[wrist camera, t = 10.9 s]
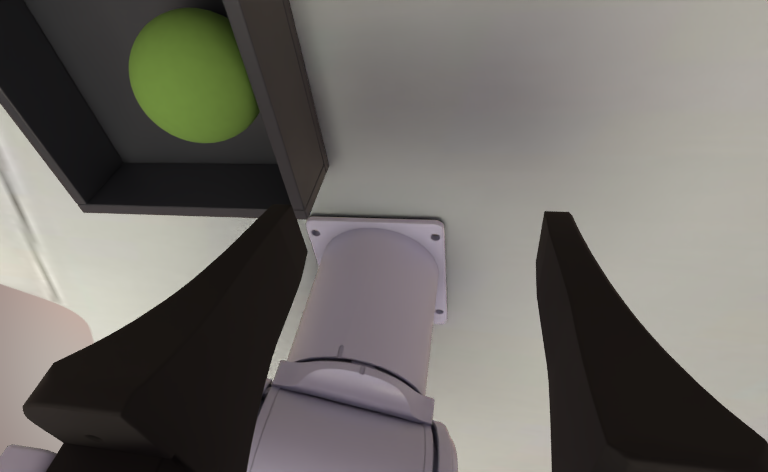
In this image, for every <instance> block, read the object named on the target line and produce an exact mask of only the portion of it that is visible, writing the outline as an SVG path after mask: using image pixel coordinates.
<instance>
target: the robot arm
mask: <svg viewBox="0 0 768 472" xmlns="http://www.w3.org/2000/svg"><path fill="white" fill-rule="evenodd" d="M306 228H307V231H308V234H309V237H310V240H311V244H312V247H313V250H314V253H315V256H316V259H317V262H318V265H319V268H318V271H317V274H316V277H315V280H314V283H313V286H312V289H311V291H310V294H309V297H308V300H307V303H306V306H305V309H304V312H303V315H302V318H301V321H300V323H299V326H298V329H297V332H296V335H295V338H294V341H293V344H292V347H291V350H290V353H289V355H288V358H287V361H285V360H281V361H280V363H279V366H278V369H277V372H276V375H275V377H274V380H273V382H272V379H268V378H267V375H268V371H269V367H270V364H271V360H272V356H273V353H274V350H275V347H276V344H277V342H278V339H279V337H280V334H281V331H282V329H283V326H284V324H285V321H286V318H287V316H288V313H289V311H290V308H291V306H292V303H293V300H294V298H295V295H296V292H297V290H298V287H299V284H300V282H301V278H302V274H303V270H304V266H305V261H306V256H307V252H308V251H307V248H306V245H305V242H304V239H303V236H302V234H301V231H300V228H299V225H298V222H297V219H296V216H295V213H294V210H293V207H292V205H283V204H272V205H271V206H270V207H269V208H268V209H267V210H266V211H265V212H264V213H263V214H262V215H261V216H260V217H259V218H258V219H257V220H256V221H255V222H254V223H253V224H252V225H251V226H250V227H249V228H248V229H247V230H246V231H245V232H244V233H243V234H242V235H241V236H240V237H239V238H238V239H237V240H236V241H235V242H234V243H233V244H232V245H231V246H230V247H229V248H228V249H227V250H226V251H225V252H224V253H222V254H221V255H220V256H219V257H218V258H217V259H216V260H215V261H213V262H212V263H211V264H210V265H209V266H208V267H207V268H206V269H204V270H203V271H202V272H201V273H200V274H199V275H198V276H196V277H195V278H194V279H193V280H191V281H190V282H189V283H188V284H186V285H185V286H184V287H182V288H181V289H180V290H178V291H177V292H176V293H174V294H173V295H172V296H170V297H169V298H168V299H166V300H165V301H163V302H162V303H160V304H159V305H157V306H156V307H154V308H153V309H151V310H150V311H148V312H147V313H145V314H144V315H142V316H141V317H139V318H138V319H136V320H134V321H133V322H131V323H129V324H128V325H126V326H124V327H123V328H121V329H119V330H118V331H116V332H114V333H112V334H110V335H109V336H107V337H105V338H103V339H101V340H99V341H97V342H96V343H94V344H92V345H90V346H88V347H86V348H84V349H82V350H79V351H77V352H75V353H73V354H71V355H69V356H67V357H65V358H63V359H61V360H59V361H57V362H55V363H53V365H52V366H51V368H50V369H49V370H48V372H47V373H46V374H45V376H44V377H43V379H42V380H41V381H40V383H39V384H38V386H37V387H36V388H35V390H34V391H33V393H32V394H31V395H30V397H29V398H28V400H27V401H26V402H25V404H24V405H23V411H24V414H25V416H26V417H27V418H28V419H29V420H30V421H32V422H33V423H34V424H36V425H38V426H39V427H40V428H42V429H43V430H45V431H46V432H48V433H50V434H51V435H53V436H54V437H56V438H57V439H59V440H60V441H62V442H63V443H64V444H63V445H62V447H61V448H60V450H59V451H58V453H57V454H56V453H54V452H51V451H48V450H44V449H38V448H32V447H26V446H19V445H9V446H7V448H6V449H5V451H4V452H3V453H2V455H1V456H0V472H458V461H457V453H456V448H455V445H454V442H453V440H452V439H451V437H450V435H449V432H448V430H447V428H446V426H445V425H444V424H443V423H441V422H438V421H434V420H433V410H434V399H433V398H430V397H427V396H425V394H426V385H427V376H428V367H429V357H430V348H431V339H432V330H433V324H444V323H446V322H447V317H448V315H447V287H446V258H445V230H444V224H443V223H442V222H440V221H438V220H416V219H383V218H349V217H316V216H313V217H309V218H308V219H307V222H306ZM315 230H317V231H315ZM433 234H437V235H438V236H435V235H433ZM536 286H537V300H538V308H539V315H540V322H541V328H542V335H543V342H544V349H545V355H546V362H547V370H548V380H549V398H550V423H551V454H552V472H768V444H767V442H766V440H765V439H764V438H762V437H761V436H760V435H759V434H757V433H756V432H755V431H754V430H752V429H751V428H750V427H749V426H747V425H746V424H745V423H744V422H742V421H741V420H740V419H739V418H738V417H736V416H735V415H734V414H733V413H731V412H730V411H729V410H728V409H726V408H725V407H724V406H723V405H722V404H721V403H719V402H718V401H717V400H716V399H715V398H714V397H713V396H712V395H710V394H709V393H708V392H707V391H706V390H705V389H704V388H703V387H702V386H700V385H699V384H698V383H697V382H696V381H695V380H694V379H693V378H692V377H691V376H690V375H689V374H688V373H687V372H686V371H685V370H684V369H683V368H682V367H681V366H680V365H679V364H678V363H677V362H676V361H675V360H674V359H673V358H672V357H671V356H670V355H669V354H668V353H667V352H666V351H665V350H664V349H663V348H662V347H661V346H660V344H659V343H658V342H657V341H656V340H655V339H654V338H653V337H652V336H651V335H650V333H649V332H648V331H647V330H646V329H645V327H644V326H643V325H642V324H641V323H640V322H639V320H638V319H637V318H636V317H635V315H634V314H633V313H632V312H631V310H630V309H629V308H628V306H627V305H626V304H625V303H624V301H623V300H622V298H621V297H620V296H619V294H618V293H617V292H616V290H615V289H614V287H613V286H612V284H611V283H610V281H609V280H608V279H607V277H606V275H605V274H604V272H603V271H602V269H601V268H600V266H599V264H598V263H597V261H596V260H595V258H594V256H593V255H592V253H591V251H590V249H589V248H588V246H587V244H586V242H585V241H584V239H583V237H582V235H581V233H580V231H579V229H578V227H577V225H576V223H575V221H574V218H573V216H572V215H571V214H570V213H569V212H549V211H545V212H544V218H543V223H542V229H541V235H540V241H539V247H538V253H537V259H536Z"/></svg>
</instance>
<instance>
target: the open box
mask: <svg viewBox="0 0 768 472" xmlns="http://www.w3.org/2000/svg"><path fill="white" fill-rule="evenodd" d="M180 8H200V9H205V10H210V11H212V12H215V13H218V14H220V15H222V16H224V17H226V18H228V19H229V22H230V25H231V28H232V31H233V34H234V37H235V40H236V43H237V46H238V49H239V52H240V55H241V57H242V60H243V63H244V66H245V69H246V72H247V75H248V78H249V81H250V84H251V87H252V90H253V93H254V96H255V99H256V102H257V105H258V108H259V111H260V112H259V114H258V116H257V117H256V119H255V120H254V121H253V123H252V124H251V125H250V126H249V127H248V128H247V129H245V130H244V131H243V132H241V133H240V134H238V135H236V136H235V137H232V138H230V139H227V140H225V141H220V142H215V143H197V142H190V141H187V140H183V139H180V138H178V137H175V136H173V135H171V134H169V133H168V132H166V131H165V130H163V129H161V128H160V127H159V126H158V125H156V124H155V123H154V122H153V121H152V120H151V119H150V118H149V117H148V116H147V115H146V113H145V112H144V111H143V109H142V108H141V106H140V105H139V103H138V101H137V99H136V97H135V95H134V92H133V90H132V87H131V83H130V77H129V57H130V53H131V49H132V46H133V44H134V41H135V39H136V37H137V36H138V34H139V33H140V31H141V30H142V29H143V28H144V26H145V25H146V24H147V23H149V22H150V21H151V20H153V19H154V18H155V17H157V16H159V15H160V14H163V13H165V12H168V11H170V10H174V9H180ZM0 104H1V105H2V106H3V108H4V109H5V110H6V111H7V113H8V114H9V115H10V117H11V118H12V119H13V121H14V122H15V123H16V125H17V126H18V127H19V129H20V130H21V131H22V132H23V134H24V135H25V136H26V138H27V139H28V140H29V142H30V143H31V144H32V146H33V147H34V148H35V150H36V151H37V152H38V153H39V155H40V156H41V157H42V159H43V160H44V161H45V163H46V164H47V165H48V167H49V168H50V169H51V171H52V172H53V173H54V174H55V176H56V177H57V178H58V180H59V181H60V182H61V184H62V185H63V186H64V188H65V189H66V190H67V192H68V193H69V194H70V195H71V197H72V198H73V199H74V201H75V202H76V203H77V204H78V206H79V207H80V209H81V210H82V211H83V212H84V213H114V214H146V215H178V216H210V217H242V218H259V217H260V216H261V215H262V214H263V213H264V212H265V211H266V210H267V209H268V208H269V207H270V206H271V205H272V204H283V205H292V207H293V210H294V213H295V216H296V219H308V217H309V214H310V212H311V210H312V207H313V205H314V202H315V200H316V197H317V195H318V192H319V190H320V187H321V185H322V182H323V180H324V177H325V175H326V172H327V170H328V168H329V164H328V160H327V156H326V152H325V148H324V144H323V140H322V136H321V132H320V127H319V123H318V119H317V115H316V111H315V107H314V103H313V99H312V95H311V91H310V86H309V82H308V78H307V74H306V70H305V66H304V62H303V58H302V54H301V50H300V46H299V41H298V37H297V33H296V29H295V25H294V21H293V17H292V13H291V9H290V5H289V1H288V0H0Z"/></svg>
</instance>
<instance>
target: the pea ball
mask: <svg viewBox="0 0 768 472" xmlns="http://www.w3.org/2000/svg"><path fill="white" fill-rule="evenodd" d="M129 77H130V83H131V87H132V90H133V92H134V95H135V97H136V99H137V101H138V103H139V105H140V106H141V108H142V109H143V111H144V112H145V113H146V115H147V116H148V117H149V118H150V119H151V120H152V121H153V122H154V123H155V124H156V125H158V126H159V127H160V128H161V129H163V130H165V131H166V132H168V133H169V134H171V135H173V136H175V137H178V138H180V139H183V140H187V141H190V142H197V143H215V142H220V141H225V140H227V139H230V138H232V137H235V136H236V135H238V134H240V133H241V132H243V131H244V130H245V129H247V128H248V127H249V126H250V125H251V124H252V123H253V121H254V120H255V119H256V117H257V116H258V114H259V112H260V111H259V108H258V105H257V102H256V99H255V96H254V93H253V90H252V87H251V84H250V81H249V78H248V75H247V72H246V69H245V66H244V63H243V60H242V57H241V55H240V52H239V49H238V46H237V43H236V40H235V37H234V34H233V31H232V28H231V25H230V22H229V19H228V18H226V17H224V16H222V15H220V14H218V13H215V12H212V11H210V10H205V9H200V8H180V9H174V10H170V11H168V12H165V13H163V14H160V15H159V16H157V17H155V18H154V19H153V20H151V21H150V22H149V23H147V24H146V25H145V26H144V28H143V29H142V30H141V31H140V33H139V34H138V36H137V37H136V39H135V41H134V44H133V46H132V49H131V53H130V57H129Z"/></svg>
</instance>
